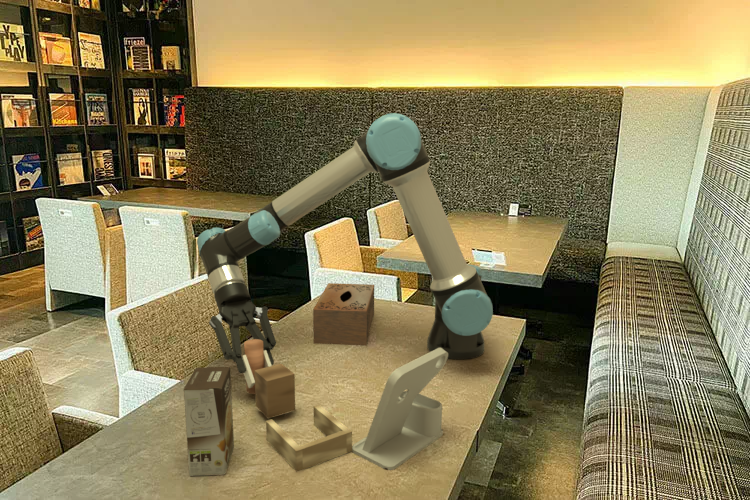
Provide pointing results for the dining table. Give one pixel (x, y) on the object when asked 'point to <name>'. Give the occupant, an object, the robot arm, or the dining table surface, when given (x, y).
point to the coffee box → (209, 420)
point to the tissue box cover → (344, 314)
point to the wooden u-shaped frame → (317, 450)
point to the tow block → (269, 382)
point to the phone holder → (404, 414)
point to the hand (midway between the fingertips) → (262, 382)
